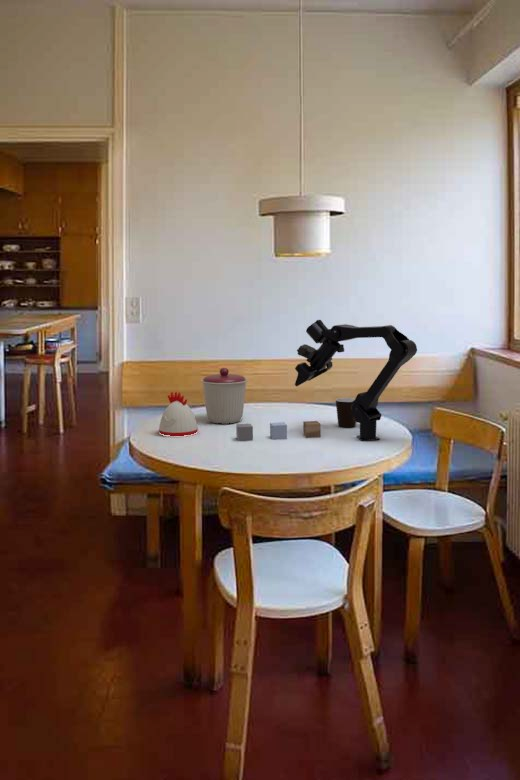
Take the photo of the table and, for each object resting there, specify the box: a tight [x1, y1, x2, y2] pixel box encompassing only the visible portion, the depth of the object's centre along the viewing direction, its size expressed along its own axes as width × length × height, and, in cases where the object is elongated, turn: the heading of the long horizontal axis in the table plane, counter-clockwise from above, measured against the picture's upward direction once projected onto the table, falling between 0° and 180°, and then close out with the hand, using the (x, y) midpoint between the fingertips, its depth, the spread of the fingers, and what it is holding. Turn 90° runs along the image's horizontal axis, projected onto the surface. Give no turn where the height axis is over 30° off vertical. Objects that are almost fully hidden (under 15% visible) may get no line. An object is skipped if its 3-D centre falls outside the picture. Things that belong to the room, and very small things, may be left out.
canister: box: [200, 367, 249, 425], centre depth 286 cm, size 18×18×21 cm
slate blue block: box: [269, 421, 288, 441], centre depth 258 cm, size 5×5×5 cm
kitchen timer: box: [158, 391, 199, 436], centre depth 266 cm, size 14×14×15 cm
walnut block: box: [302, 420, 321, 439], centre depth 260 cm, size 5×5×5 cm
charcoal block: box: [235, 423, 254, 442], centre depth 256 cm, size 5×5×5 cm
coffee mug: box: [335, 397, 357, 429], centre depth 277 cm, size 12×9×10 cm
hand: (301, 382), depth 271 cm, fingers open, 9 cm apart
